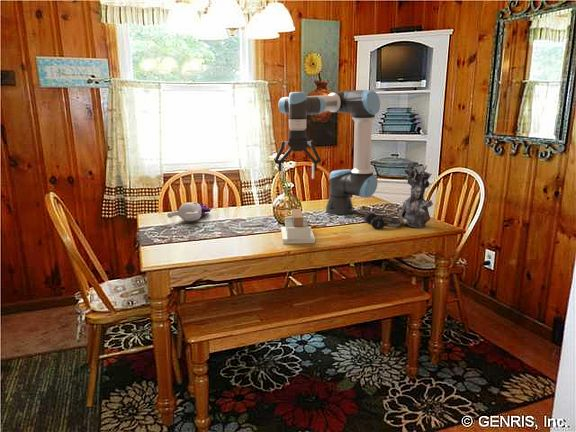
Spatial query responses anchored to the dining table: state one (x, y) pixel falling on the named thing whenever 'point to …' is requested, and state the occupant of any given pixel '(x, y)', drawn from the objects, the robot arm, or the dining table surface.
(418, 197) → the sculpture
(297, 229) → the stand
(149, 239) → the dining table surface
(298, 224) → the tan wooden plank
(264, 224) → the dining table surface
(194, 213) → the figurine
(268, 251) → the dining table surface
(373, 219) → the headset
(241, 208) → the dining table surface
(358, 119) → the robot arm
